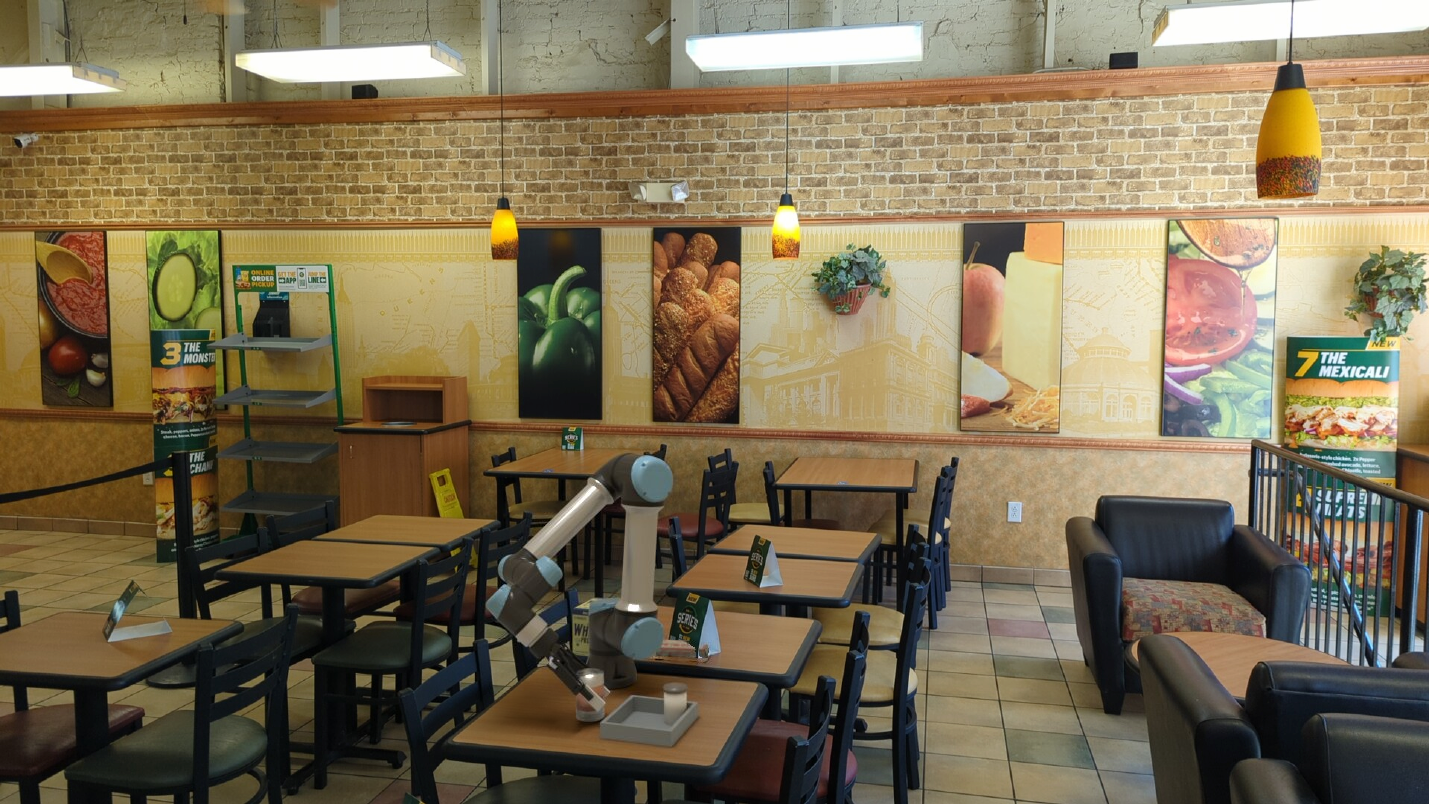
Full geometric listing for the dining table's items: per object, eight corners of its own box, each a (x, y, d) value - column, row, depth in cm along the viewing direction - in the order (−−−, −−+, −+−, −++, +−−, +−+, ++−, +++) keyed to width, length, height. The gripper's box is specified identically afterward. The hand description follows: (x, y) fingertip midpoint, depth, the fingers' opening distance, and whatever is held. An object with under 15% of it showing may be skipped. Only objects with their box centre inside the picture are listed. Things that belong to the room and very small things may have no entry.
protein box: (571, 659, 297) (571, 608, 297) (595, 645, 312) (595, 596, 311) (603, 663, 294) (602, 611, 293) (625, 648, 308) (625, 599, 308)
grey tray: (600, 741, 234) (599, 722, 234) (631, 712, 254) (631, 695, 253) (671, 750, 229) (671, 731, 229) (698, 720, 248) (698, 702, 248)
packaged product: (712, 639, 303) (706, 648, 294) (712, 654, 304) (706, 664, 294) (655, 635, 307) (647, 645, 297) (655, 651, 307) (647, 661, 297)
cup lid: (658, 691, 243) (658, 688, 243) (670, 684, 249) (670, 681, 249) (680, 695, 241) (680, 692, 241) (691, 687, 246) (691, 684, 246)
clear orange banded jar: (571, 720, 244) (570, 676, 243) (583, 709, 250) (582, 667, 250) (597, 722, 242) (596, 678, 241) (608, 712, 248) (608, 669, 248)
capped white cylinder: (660, 724, 243) (660, 692, 243) (668, 716, 249) (668, 684, 248) (682, 726, 242) (682, 694, 241) (689, 718, 247) (689, 687, 247)
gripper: (536, 635, 256) (599, 697, 256) (518, 660, 236) (587, 727, 236) (556, 615, 255) (619, 677, 255) (540, 638, 235) (608, 705, 235)
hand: (604, 701), depth 246 cm, fingers closed on clear orange banded jar, 7 cm apart
